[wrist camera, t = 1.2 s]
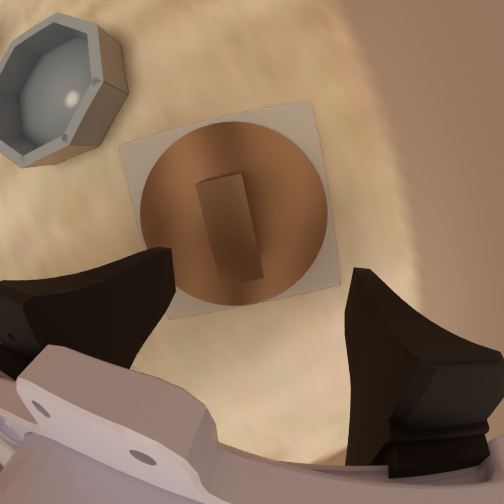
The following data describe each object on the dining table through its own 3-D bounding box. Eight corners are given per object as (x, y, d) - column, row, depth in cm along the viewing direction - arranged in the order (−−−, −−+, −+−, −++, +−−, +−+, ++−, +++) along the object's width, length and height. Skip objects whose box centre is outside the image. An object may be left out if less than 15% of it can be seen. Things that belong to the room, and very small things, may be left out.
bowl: (28, 177, 20) (-5, 183, 16) (16, 69, 17) (-14, 61, 13) (135, 132, 20) (111, 127, 15) (117, 15, 17) (95, -8, 12)
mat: (169, 317, 24) (168, 319, 24) (120, 146, 20) (118, 146, 20) (339, 282, 24) (341, 284, 23) (309, 101, 20) (310, 100, 19)
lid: (172, 313, 24) (158, 348, 19) (125, 150, 20) (95, 150, 15) (334, 280, 23) (355, 309, 18) (305, 108, 19) (323, 94, 15)
